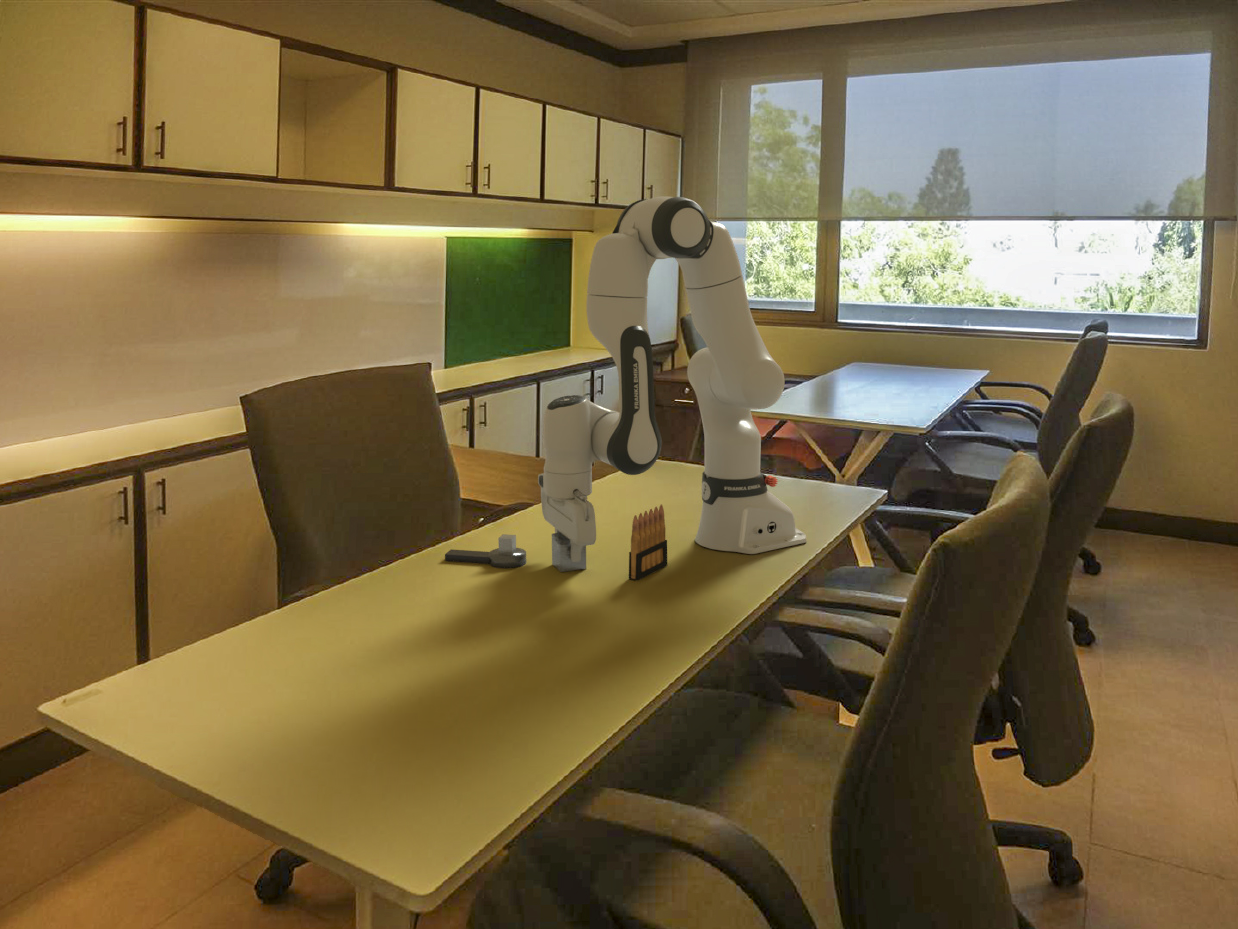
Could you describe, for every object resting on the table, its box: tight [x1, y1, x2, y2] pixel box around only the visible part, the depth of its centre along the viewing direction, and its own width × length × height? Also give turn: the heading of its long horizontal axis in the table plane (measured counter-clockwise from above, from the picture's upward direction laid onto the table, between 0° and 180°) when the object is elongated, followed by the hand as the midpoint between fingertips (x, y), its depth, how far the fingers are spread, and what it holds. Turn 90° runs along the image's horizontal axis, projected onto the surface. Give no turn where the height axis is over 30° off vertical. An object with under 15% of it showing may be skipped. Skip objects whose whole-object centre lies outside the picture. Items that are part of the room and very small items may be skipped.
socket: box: [551, 533, 587, 573], centre depth 201 cm, size 5×5×6 cm
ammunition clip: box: [628, 504, 668, 582], centre depth 197 cm, size 11×2×12 cm, turn 146°
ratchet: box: [444, 534, 527, 570], centre depth 204 cm, size 16×7×5 cm, turn 78°
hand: (569, 555), depth 201 cm, fingers closed on socket, 5 cm apart
